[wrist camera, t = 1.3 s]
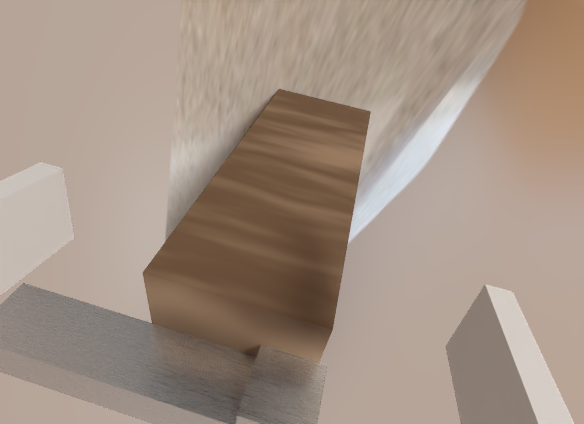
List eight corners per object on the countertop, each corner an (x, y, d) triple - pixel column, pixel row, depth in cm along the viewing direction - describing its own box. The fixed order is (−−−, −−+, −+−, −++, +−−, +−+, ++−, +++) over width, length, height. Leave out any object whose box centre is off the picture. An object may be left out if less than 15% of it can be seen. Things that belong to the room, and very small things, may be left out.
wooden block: (279, 89, 41) (142, 272, 19) (370, 111, 40) (332, 329, 18) (266, 187, 50) (163, 385, 28) (340, 207, 49) (291, 427, 28)
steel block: (15, 268, 22) (-46, 322, 19) (327, 365, 21) (314, 440, 18) (48, 328, 27) (2, 380, 24) (306, 412, 25) (292, 479, 22)
